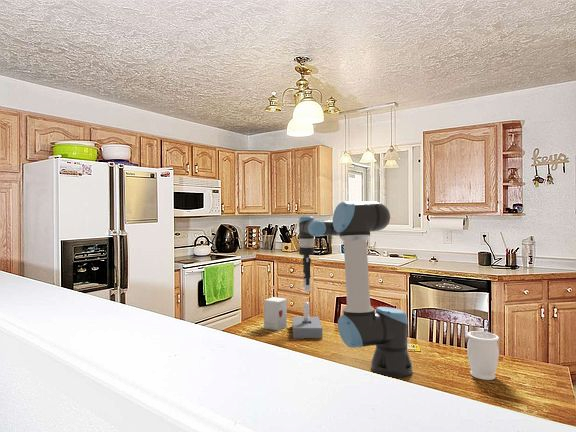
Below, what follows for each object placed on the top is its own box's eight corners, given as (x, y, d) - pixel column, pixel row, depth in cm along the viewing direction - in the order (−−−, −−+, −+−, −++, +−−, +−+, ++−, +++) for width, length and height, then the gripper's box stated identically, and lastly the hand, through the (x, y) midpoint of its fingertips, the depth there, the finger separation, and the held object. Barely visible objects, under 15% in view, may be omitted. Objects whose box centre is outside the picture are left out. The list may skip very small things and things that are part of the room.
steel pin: (309, 332, 188) (309, 303, 188) (303, 333, 188) (303, 303, 188) (309, 331, 191) (309, 301, 191) (303, 331, 191) (303, 301, 191)
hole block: (322, 338, 180) (322, 328, 180) (293, 338, 180) (293, 328, 180) (318, 326, 200) (318, 316, 200) (292, 326, 200) (292, 316, 200)
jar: (471, 367, 145) (471, 328, 145) (501, 374, 139) (501, 334, 139) (463, 376, 137) (463, 335, 137) (495, 384, 131) (495, 341, 131)
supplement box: (277, 331, 191) (277, 301, 191) (263, 328, 196) (263, 299, 196) (287, 326, 199) (287, 298, 199) (273, 324, 204) (273, 296, 204)
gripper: (298, 245, 202) (298, 284, 202) (300, 249, 177) (300, 293, 177) (312, 244, 202) (312, 284, 202) (316, 248, 177) (316, 293, 177)
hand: (306, 288), depth 190 cm, fingers open, 13 cm apart
